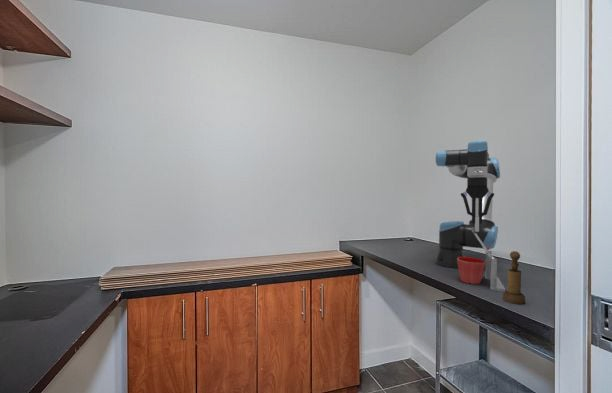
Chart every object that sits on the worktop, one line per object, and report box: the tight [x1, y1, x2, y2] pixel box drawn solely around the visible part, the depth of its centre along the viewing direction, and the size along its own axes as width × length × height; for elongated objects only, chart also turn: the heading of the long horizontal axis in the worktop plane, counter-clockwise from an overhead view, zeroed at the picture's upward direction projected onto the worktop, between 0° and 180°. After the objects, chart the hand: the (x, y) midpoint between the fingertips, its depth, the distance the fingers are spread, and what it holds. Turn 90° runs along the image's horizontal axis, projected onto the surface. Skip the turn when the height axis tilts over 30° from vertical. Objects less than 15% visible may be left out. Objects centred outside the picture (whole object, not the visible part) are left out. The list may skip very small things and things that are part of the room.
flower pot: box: [457, 256, 486, 285], centre depth 130 cm, size 11×11×10 cm
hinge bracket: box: [484, 250, 507, 293], centre depth 126 cm, size 19×5×12 cm, turn 155°
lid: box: [470, 228, 495, 259], centre depth 128 cm, size 13×14×2 cm
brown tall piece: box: [502, 250, 526, 305], centre depth 107 cm, size 7×6×18 cm
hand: (476, 231), depth 129 cm, fingers closed
